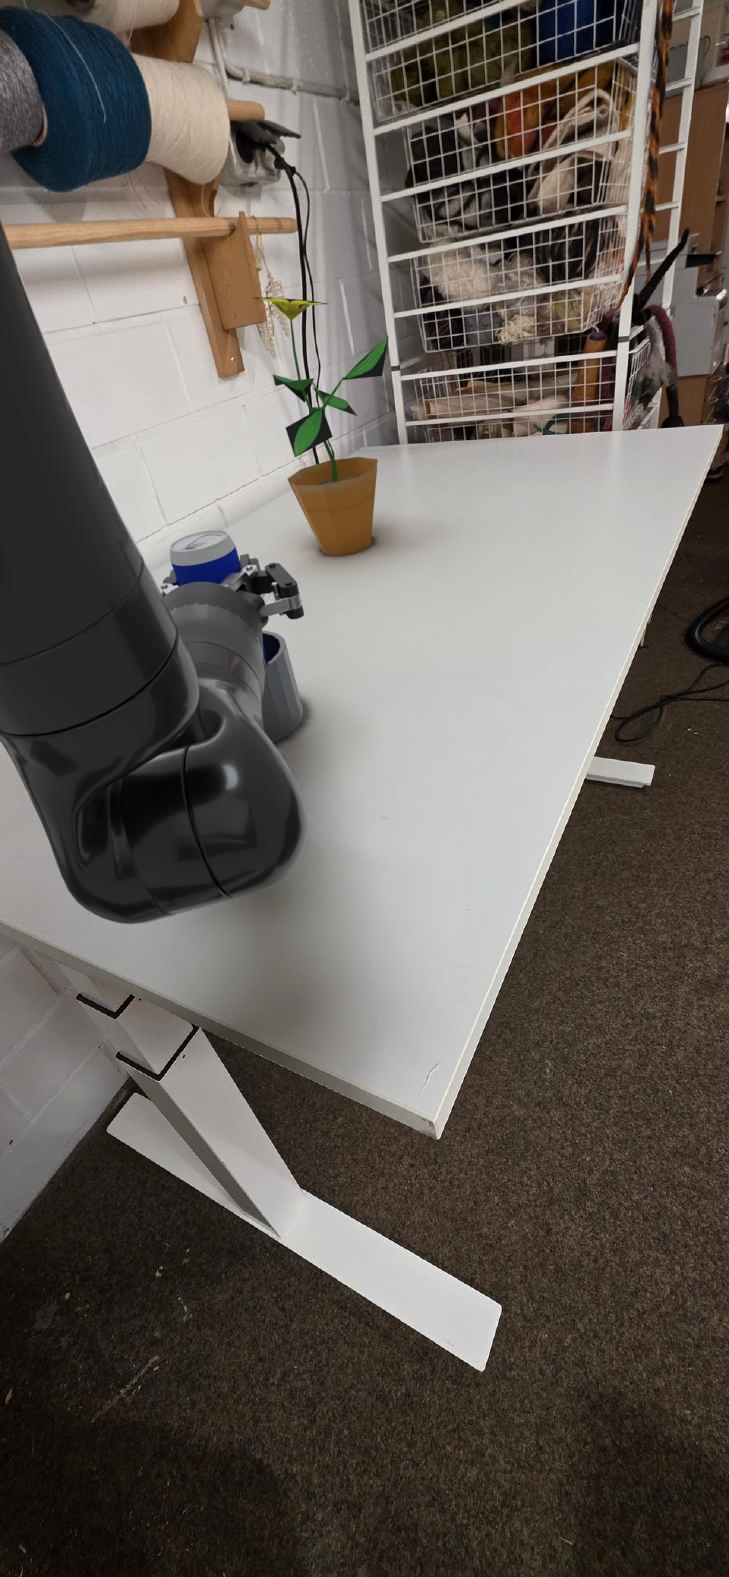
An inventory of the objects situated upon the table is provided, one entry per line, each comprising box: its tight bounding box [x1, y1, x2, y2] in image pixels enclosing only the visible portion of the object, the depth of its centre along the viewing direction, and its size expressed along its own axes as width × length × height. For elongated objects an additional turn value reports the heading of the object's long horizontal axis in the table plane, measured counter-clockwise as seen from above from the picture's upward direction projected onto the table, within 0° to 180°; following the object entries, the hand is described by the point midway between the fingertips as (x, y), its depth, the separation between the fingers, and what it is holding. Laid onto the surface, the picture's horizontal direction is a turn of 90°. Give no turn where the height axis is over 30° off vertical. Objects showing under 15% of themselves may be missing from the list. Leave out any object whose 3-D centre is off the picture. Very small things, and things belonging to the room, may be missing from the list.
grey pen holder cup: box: [262, 629, 304, 744], centre depth 60 cm, size 9×9×7 cm
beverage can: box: [169, 529, 268, 663], centre depth 56 cm, size 5×5×15 cm
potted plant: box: [253, 296, 390, 556], centre depth 87 cm, size 18×19×30 cm
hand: (213, 573), depth 56 cm, fingers closed on beverage can, 5 cm apart
